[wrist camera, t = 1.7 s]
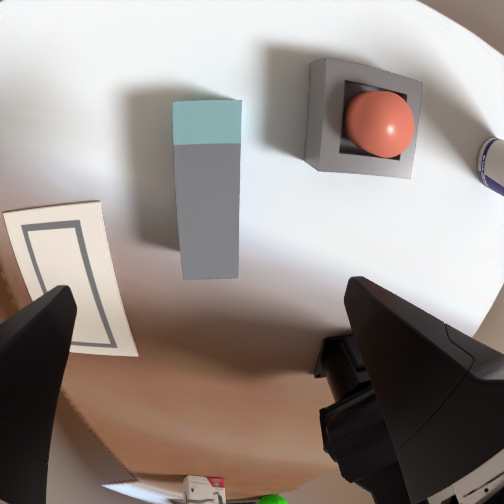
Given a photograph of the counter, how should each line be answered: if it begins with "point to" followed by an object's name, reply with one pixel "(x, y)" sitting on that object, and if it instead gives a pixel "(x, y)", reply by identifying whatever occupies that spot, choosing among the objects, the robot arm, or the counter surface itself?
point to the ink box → (203, 490)
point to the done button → (379, 122)
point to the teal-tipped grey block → (207, 186)
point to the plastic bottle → (272, 500)
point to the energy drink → (492, 165)
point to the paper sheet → (74, 271)
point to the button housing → (332, 111)
